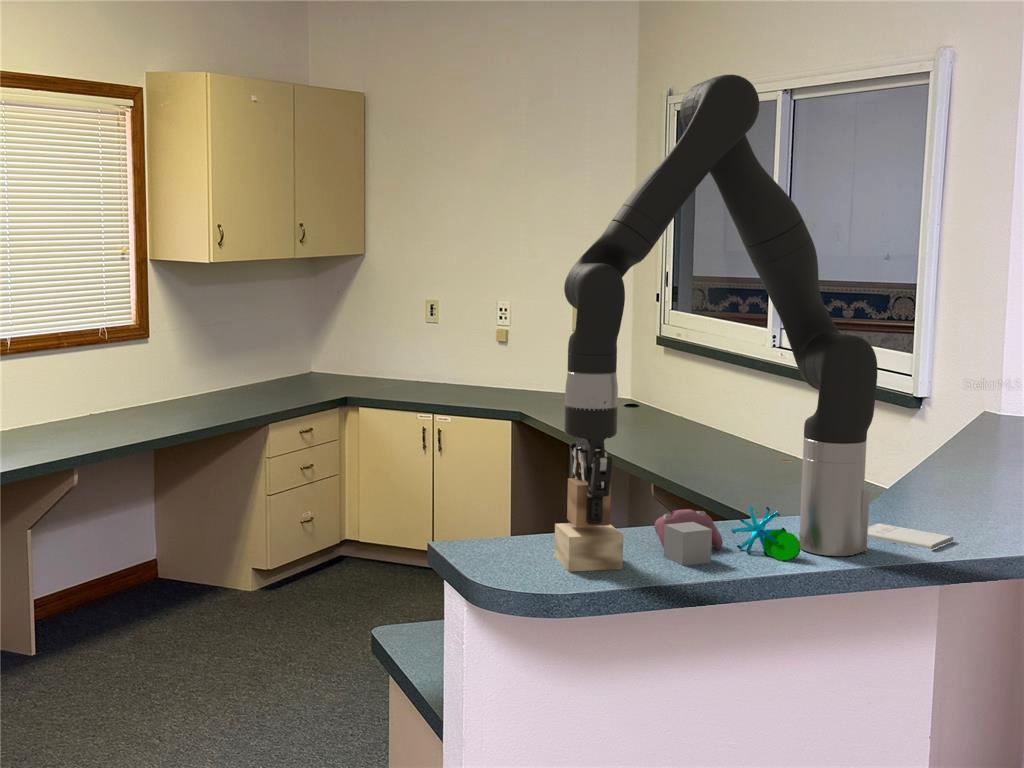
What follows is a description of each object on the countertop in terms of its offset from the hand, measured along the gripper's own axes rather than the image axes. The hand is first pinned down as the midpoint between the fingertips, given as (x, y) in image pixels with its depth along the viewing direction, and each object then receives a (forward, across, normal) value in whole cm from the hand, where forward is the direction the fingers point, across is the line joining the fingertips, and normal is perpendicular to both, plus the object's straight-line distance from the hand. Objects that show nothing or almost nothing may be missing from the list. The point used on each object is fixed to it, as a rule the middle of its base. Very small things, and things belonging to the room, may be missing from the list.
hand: (588, 518), depth 161 cm
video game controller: (+7, +5, -18) cm, 20 cm away
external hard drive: (+7, +5, -54) cm, 55 cm away
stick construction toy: (+7, +1, -29) cm, 30 cm away
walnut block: (0, 0, 0) cm, 0 cm away
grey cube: (+7, -1, -15) cm, 17 cm away
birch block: (+7, 0, 0) cm, 7 cm away
